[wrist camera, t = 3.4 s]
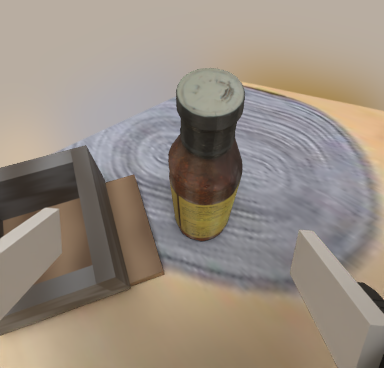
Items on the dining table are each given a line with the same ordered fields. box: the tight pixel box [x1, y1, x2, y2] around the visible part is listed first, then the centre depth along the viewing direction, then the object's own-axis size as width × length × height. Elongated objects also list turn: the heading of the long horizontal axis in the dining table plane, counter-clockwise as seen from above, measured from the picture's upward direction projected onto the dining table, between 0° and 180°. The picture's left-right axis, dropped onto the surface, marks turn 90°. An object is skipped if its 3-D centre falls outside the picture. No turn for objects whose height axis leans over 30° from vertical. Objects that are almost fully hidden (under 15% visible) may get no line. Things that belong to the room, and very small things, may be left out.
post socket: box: [0, 145, 164, 335], centre depth 26 cm, size 24×13×10 cm, turn 110°
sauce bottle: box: [168, 68, 245, 241], centre depth 25 cm, size 7×6×20 cm
